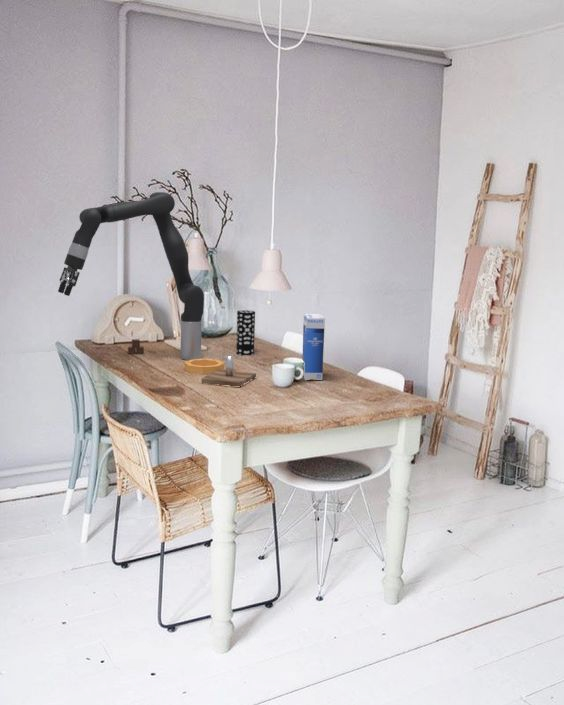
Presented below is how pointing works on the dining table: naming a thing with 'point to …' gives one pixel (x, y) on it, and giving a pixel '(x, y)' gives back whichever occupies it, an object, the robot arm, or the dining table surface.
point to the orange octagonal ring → (203, 366)
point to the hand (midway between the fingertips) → (63, 293)
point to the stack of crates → (135, 347)
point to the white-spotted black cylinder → (245, 332)
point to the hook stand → (228, 375)
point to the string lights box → (313, 346)
